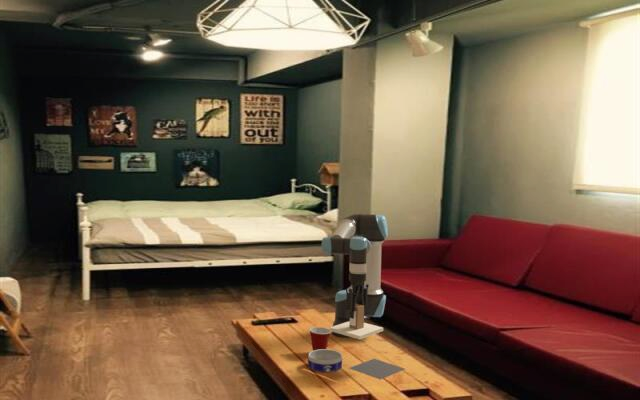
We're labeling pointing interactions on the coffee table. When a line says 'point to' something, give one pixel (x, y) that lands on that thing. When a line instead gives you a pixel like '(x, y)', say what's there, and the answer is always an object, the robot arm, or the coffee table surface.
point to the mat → (377, 368)
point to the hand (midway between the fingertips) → (356, 323)
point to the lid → (357, 326)
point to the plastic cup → (319, 337)
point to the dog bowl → (325, 360)
